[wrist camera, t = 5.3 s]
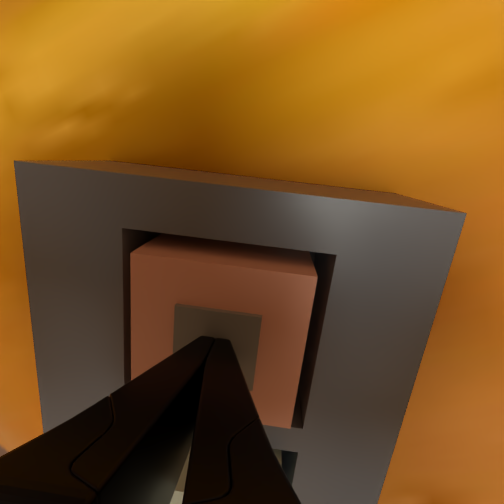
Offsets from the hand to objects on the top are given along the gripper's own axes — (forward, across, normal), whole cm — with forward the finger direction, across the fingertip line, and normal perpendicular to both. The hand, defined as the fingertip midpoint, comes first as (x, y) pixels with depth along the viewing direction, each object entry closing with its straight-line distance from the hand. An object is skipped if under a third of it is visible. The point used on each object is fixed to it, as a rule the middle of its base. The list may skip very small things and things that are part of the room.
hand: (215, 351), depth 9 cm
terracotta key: (+3, 0, 0) cm, 3 cm away
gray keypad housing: (+6, 0, +7) cm, 9 cm away
